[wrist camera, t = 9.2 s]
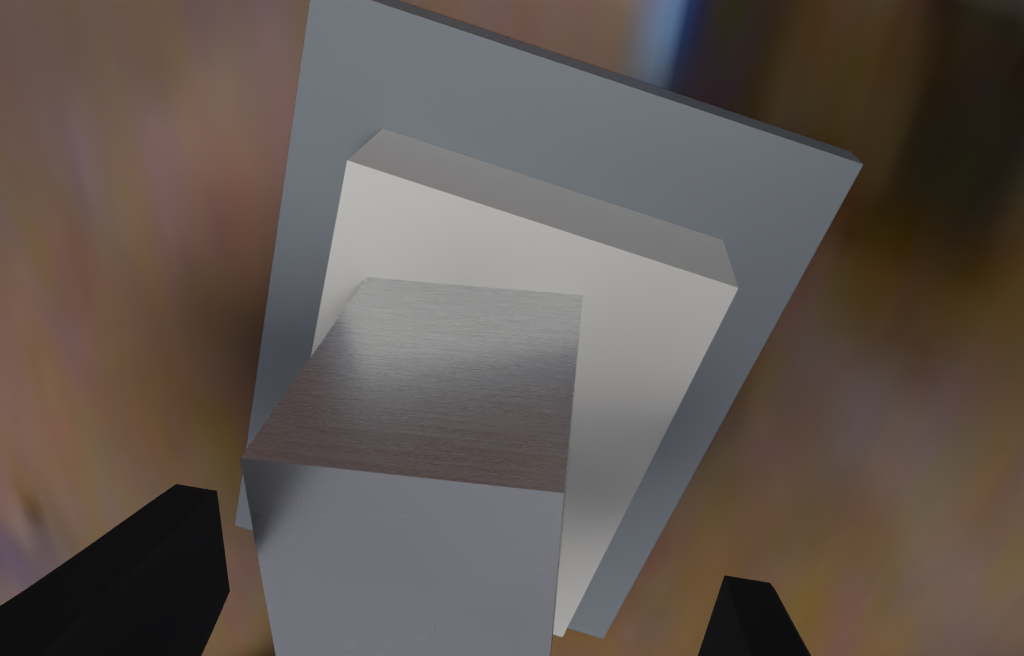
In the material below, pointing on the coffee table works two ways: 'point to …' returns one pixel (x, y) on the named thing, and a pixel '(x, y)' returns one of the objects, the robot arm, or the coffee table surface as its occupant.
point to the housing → (420, 475)
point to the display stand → (549, 243)
